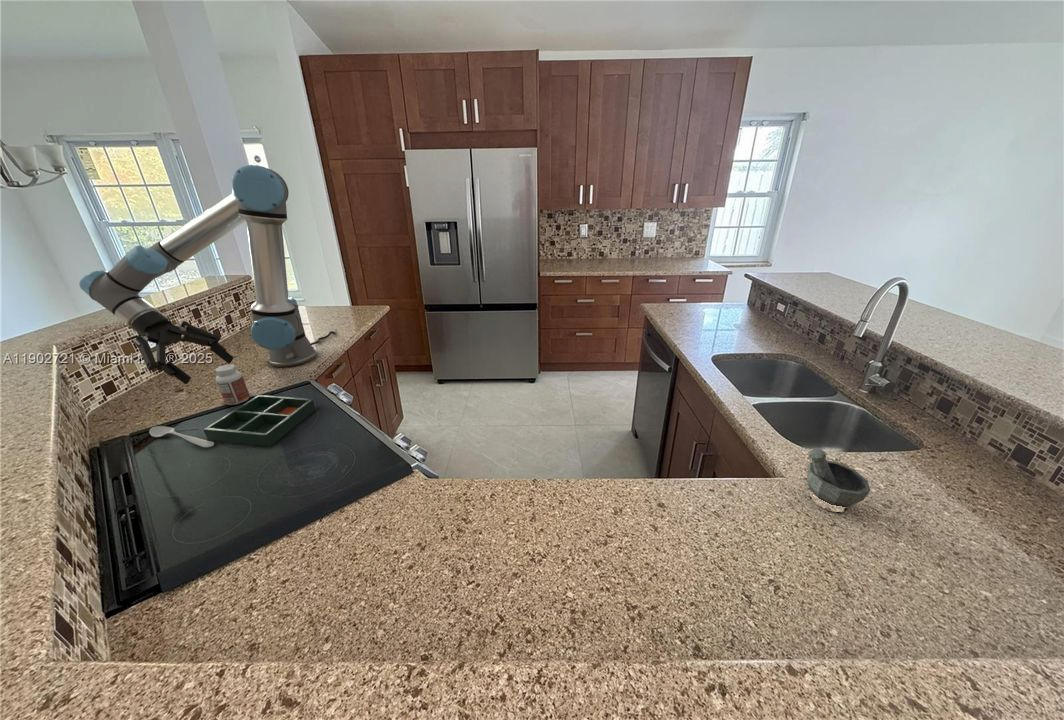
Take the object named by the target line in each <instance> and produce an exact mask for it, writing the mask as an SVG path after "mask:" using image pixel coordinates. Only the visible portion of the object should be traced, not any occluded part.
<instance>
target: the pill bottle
mask: <svg viewBox="0 0 1064 720" xmlns="http://www.w3.org/2000/svg"><path fill="white" fill-rule="evenodd" d="M214 371H215V374H216V377H215V382H216V385H217V388H218V390H219V393H220V395H221V396H222V400H223V402H224V403H225V405H228V406H236V405H239V404H242V403H244V402H245V403H246V402H247V401H249V399H250V397H251V396H250V393H249V390H248V388H247V384H246V382H245V379H244V377H243V374H242V372H240V371H239V370H237V367H236V364H232V363H229V364H223V365H221V366H220V365H219V366H217V368H214Z"/></svg>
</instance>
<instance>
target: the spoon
mask: <svg viewBox="0 0 1064 720" xmlns="http://www.w3.org/2000/svg"><path fill="white" fill-rule="evenodd" d="M175 430H176V428H175V427H170V426H163V425H156V426H152V427H151V428H150V429H149V431H148V433H149V434H150V436H151V437H153V438H160V437H164V436H166V435H174V436H177V437H180V438H182V439H184V440H185V441H187V442H189V443H191V444H194V445H196V446H199V447H201V448H204V449H205V448H206V449H207V448H212V447H214V445H215V441H208V439H204V438H203V439H202V438H199V437H196V436H192V435H188V434H184V433H179V432H177V431H175Z"/></svg>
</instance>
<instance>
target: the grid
mask: <svg viewBox="0 0 1064 720" xmlns="http://www.w3.org/2000/svg"><path fill="white" fill-rule="evenodd" d="M316 410H317V407H316V405H315V401H314V398H303V397H292V396H291V397H290V396H280V395H279V396H277V395H265V394H257V395H256V396H254V397H253V398H251V399H250V400H247V401H245V403H243V404H242V405H240V406H238V407H237V408H235V409H234V410H232V411H230V412H229V413H227V414H225V415H224V416H222V417H220V418H219V419H217V420H216V421H214V422H212V423H211V424H209V425H208V426H206V427H205V428H203V429H202V430H203V433H204V435H205V437H206V440H207V441H211V442H216V443H225V444H226V443H228V444H236V445H237V444H238V445H246V446H247V445H248V446H258V447H259V446H260V447H267V448H268V447H269V448H270V447H272V446H273V445H274V444H275V443H277V442H278V441H279V440H280V439H281V438H283V437H284V436H286V435H287V434H288V433H289V432H290V431H292V430H293V429H294V428H295V427H297V426H298V425H299V424H300V423H301V422H302V421H304V420H305V419H306V418H308V417H309V416H310V415H311V414H312V413H314V412H315V411H316Z"/></svg>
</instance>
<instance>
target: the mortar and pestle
mask: <svg viewBox="0 0 1064 720" xmlns="http://www.w3.org/2000/svg"><path fill="white" fill-rule="evenodd" d="M807 454H808V459H810V460H811V462H810V463H809V464H808V467H807V472H806V479H807V480H806V482H807V486H808V489H809V491H812V492H813V493H814V494H815V495H816V496H817V497H818V498H819V499H821V500H823V501H825V502H827V503H829V504H831V505H836V506H842V507H847V508H849V507H851V506H854V505H856V504H858V503H860V502H862V501H864V500H865V499H866V497H867V496H868V495H869V493H870V491H871V488H870V484H869V480H868V479H867V478H865V476H863V475H861V474H860V472H858V471H857V470H856V469H854V468H851V467H849V466H847V465H844V464H842V463H840V462H838V461H833V460H827V459H826V458H827V455H826V452H825V451H823V450H822V449H817V448H815V449H811V450H810V451H809V452H808V453H807Z"/></svg>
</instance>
